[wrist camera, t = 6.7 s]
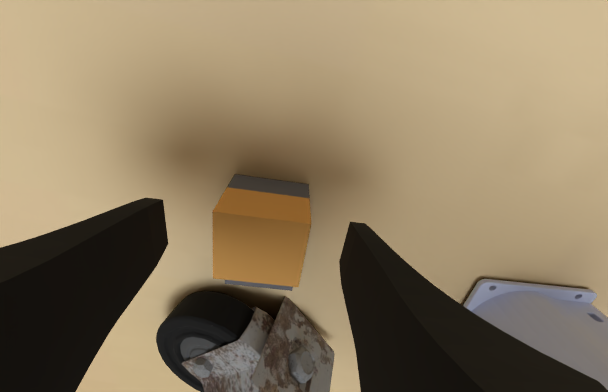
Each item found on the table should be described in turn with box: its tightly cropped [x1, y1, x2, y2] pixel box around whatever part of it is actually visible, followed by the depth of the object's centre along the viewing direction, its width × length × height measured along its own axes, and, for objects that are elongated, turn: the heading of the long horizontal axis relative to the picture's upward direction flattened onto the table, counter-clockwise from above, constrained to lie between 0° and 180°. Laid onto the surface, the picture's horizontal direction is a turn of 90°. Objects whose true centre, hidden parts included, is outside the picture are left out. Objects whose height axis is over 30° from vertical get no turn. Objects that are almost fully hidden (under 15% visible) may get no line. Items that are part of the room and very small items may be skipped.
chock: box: [213, 174, 311, 291], centre depth 15 cm, size 4×7×4 cm, turn 171°
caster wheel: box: [156, 291, 334, 392], centre depth 19 cm, size 7×11×10 cm
